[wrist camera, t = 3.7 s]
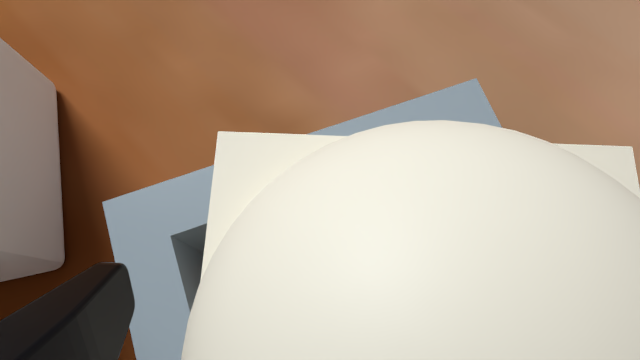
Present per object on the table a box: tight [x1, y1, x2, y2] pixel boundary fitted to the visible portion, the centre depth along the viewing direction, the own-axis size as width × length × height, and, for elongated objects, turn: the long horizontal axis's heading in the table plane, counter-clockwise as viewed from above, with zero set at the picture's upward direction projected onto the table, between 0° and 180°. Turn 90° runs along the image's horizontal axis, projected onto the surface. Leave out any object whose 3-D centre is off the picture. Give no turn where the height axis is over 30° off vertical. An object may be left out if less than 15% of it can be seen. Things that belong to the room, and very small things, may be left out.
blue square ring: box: [102, 79, 502, 360], centre depth 12 cm, size 11×11×4 cm
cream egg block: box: [181, 120, 640, 360], centre depth 8 cm, size 5×5×12 cm
